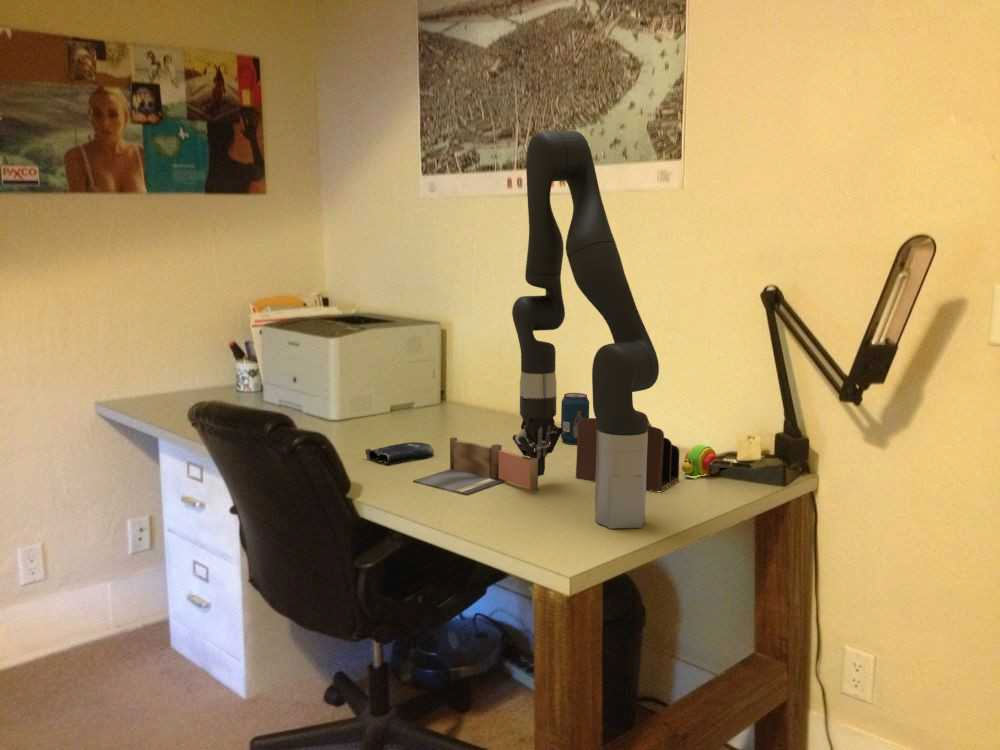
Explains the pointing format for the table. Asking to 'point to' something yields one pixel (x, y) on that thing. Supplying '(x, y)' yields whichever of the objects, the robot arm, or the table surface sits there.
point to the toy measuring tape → (698, 460)
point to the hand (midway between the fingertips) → (537, 475)
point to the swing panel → (518, 469)
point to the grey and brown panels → (468, 468)
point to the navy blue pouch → (401, 452)
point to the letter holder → (658, 456)
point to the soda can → (573, 415)
